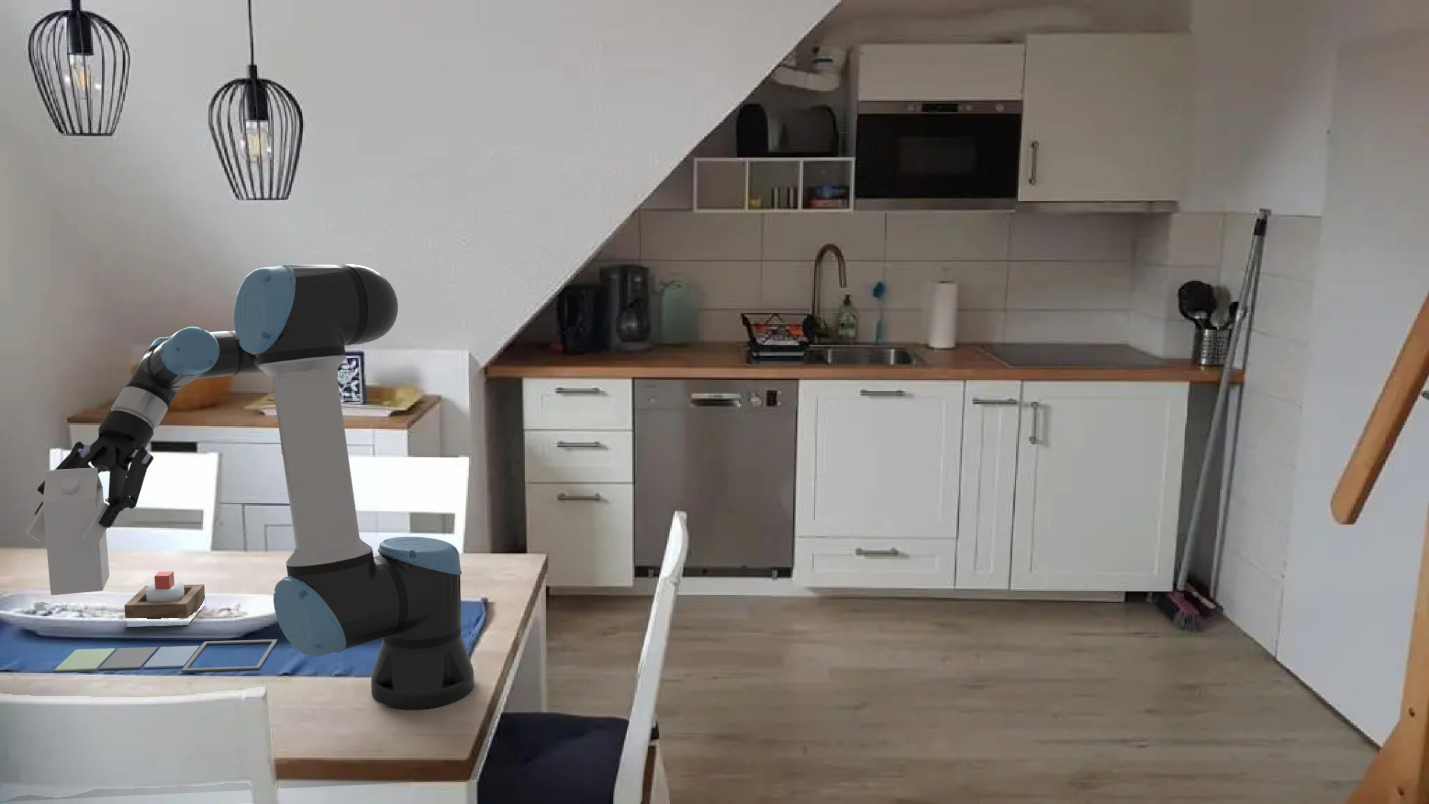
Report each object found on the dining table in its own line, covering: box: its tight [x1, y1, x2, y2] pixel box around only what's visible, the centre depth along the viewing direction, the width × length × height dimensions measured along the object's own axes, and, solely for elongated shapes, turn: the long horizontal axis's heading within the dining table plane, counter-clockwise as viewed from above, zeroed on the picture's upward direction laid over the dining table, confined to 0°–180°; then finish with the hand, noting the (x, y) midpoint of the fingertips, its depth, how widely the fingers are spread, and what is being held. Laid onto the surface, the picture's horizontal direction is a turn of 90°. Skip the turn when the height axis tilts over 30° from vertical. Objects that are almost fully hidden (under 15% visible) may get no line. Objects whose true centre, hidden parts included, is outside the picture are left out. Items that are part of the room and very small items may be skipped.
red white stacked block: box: [146, 570, 185, 602], centre depth 196 cm, size 6×6×6 cm
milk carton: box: [42, 467, 110, 596], centre depth 174 cm, size 7×7×19 cm
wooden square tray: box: [123, 584, 206, 619], centre depth 196 cm, size 10×10×4 cm
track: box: [54, 639, 278, 673], centre depth 179 cm, size 12×31×1 cm, turn 98°
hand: (59, 540), depth 171 cm, fingers closed on milk carton, 10 cm apart
